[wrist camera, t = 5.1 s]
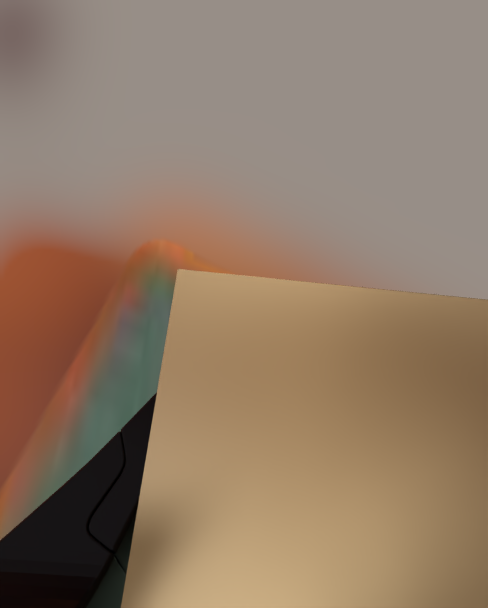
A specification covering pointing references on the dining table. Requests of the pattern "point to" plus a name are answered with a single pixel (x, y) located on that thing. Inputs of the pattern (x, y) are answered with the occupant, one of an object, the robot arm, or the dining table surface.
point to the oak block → (315, 450)
